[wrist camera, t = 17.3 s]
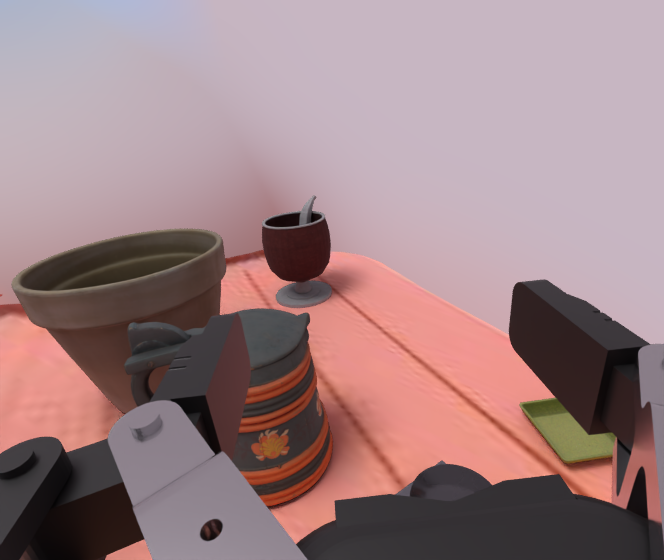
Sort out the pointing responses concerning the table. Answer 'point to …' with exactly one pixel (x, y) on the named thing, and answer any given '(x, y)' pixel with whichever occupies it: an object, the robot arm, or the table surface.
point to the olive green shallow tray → (567, 432)
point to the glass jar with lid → (447, 483)
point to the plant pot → (123, 298)
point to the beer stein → (258, 399)
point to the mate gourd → (298, 255)
